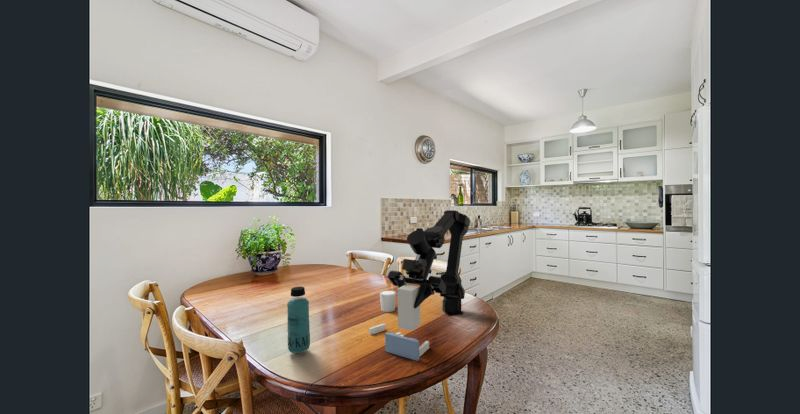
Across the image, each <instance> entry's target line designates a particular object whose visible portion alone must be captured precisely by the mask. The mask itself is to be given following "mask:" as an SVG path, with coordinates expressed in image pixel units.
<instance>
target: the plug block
mask: <svg viewBox="0 0 800 414" xmlns="http://www.w3.org/2000/svg"><path fill="white" fill-rule="evenodd" d="M419 290H420V285H414V284H406V285H404V286H402V287H400V288H397V327H398V328H399V329H403V330H406V331H412V332H413V331H414V330H416V329H417V328H418V327H419V326H421V304H420V305H419V306H418V307H417V308H416V309H415V308H414V303H415V300H416V298H417V295H418V293H419Z"/></svg>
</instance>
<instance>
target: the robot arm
mask: <svg viewBox="0 0 800 414" xmlns="http://www.w3.org/2000/svg"><path fill="white" fill-rule="evenodd" d="M470 219H471V218H470V217H468V215H466V214H464V213H461V212H459V211H457V210H454V209H453V210H452V209H451V210H449V209H448V210H445V211H444V213H443V215H442V216H441V217H440V218H439V220H438V221H437V222H436V223H435V224H434V225H433V226H432V227H429V228H428V227H427V228H426V229H425V230H424V229H423V228H422V227H421V228H419V227H418V228H416V230H414V231H412V232H411V233H409V234H408V235H407V237H406V242H407V243H408V244H409V246H410V248H411V250H412V252H413V253H414V254H415V255H416V257H415V259H408V258H403V260H402V264H401V270H404V271H405V274H406V275H407V276H406V275H404V274H403V273H402V271H400V270H399V271H398V270H390V271H389V272H388V274H387V276H386V277H387V279H388V280H389V281H390V283H391V284H392V285H393V286H394V287H398V288H400V287H402V286H404V285H406V284H407V285H416V286H420V290H419V293H418V295H417V298H416V300H415V303H414V308H415V309H416V308H417V307H418V306H419V305H420V306H421V304H422V303H423V302H425V301H426V299H428V298H429V297H431V296H433V295H435V293H436V294H439V296H440V297H443V300H442V302H441V303H442V309H441V311H443V312H444V314H446V315H447V316H454V315H462V314H464V311H462V300H464V299H465V295H466V291H465V289H464V287H463V285H462V282H463V281H462V278H461V276H460V274H459V272H460V271H459V270H460V265H461V264H460V262H461V256H462V255H461V253H462V248H463V247H462V246H463V240H464V237H465V235H466V234H467V233H468V231H469V227H470V223H471V220H470ZM448 231H449V234H450V241H449V249H448V256H447V262H446V263H447V264H446V270H445V272H444V273H441V274H440V276H433V275H430V276H429V274H432V269H431V268H432V265H433V263H434V260H437V258H438V256H437V253H436V250H435V249H441V248H442V247H443V245H444V243H445V241H446V239H445V238H446V237H445V236H446V234H447V233H448ZM398 288H397V289H398Z"/></svg>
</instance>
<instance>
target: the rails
mask: <svg viewBox="0 0 800 414" xmlns="http://www.w3.org/2000/svg"><path fill="white" fill-rule="evenodd" d="M385 330H386V324H385V323H381V324H377V325H374V326H371V327H369V328H368V334H369V335H370V336H372V335H375V334H377V333H378V334H379V333H380V332H383V331H385ZM394 333H395V332H394ZM395 334H396V335H399V336H400V335H402V332H400V331H398V332H396V333H395Z"/></svg>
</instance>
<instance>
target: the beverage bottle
mask: <svg viewBox="0 0 800 414" xmlns="http://www.w3.org/2000/svg"><path fill="white" fill-rule="evenodd" d="M305 295H306V289H305V287H304V286H294V287H291V288H290V296H291V297H292V298H290V299H289V300H288V302H287V303H286V306H287V309H286V310H287V330H286V331H287V336H286V337H287V349H288V351H289V352H290V353H293V354H300V353H304V352H306V351H308V350H309V349H310V345H311V332H310V306H309V305H310V302H309V300H308V298H306V297H304V296H305Z"/></svg>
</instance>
